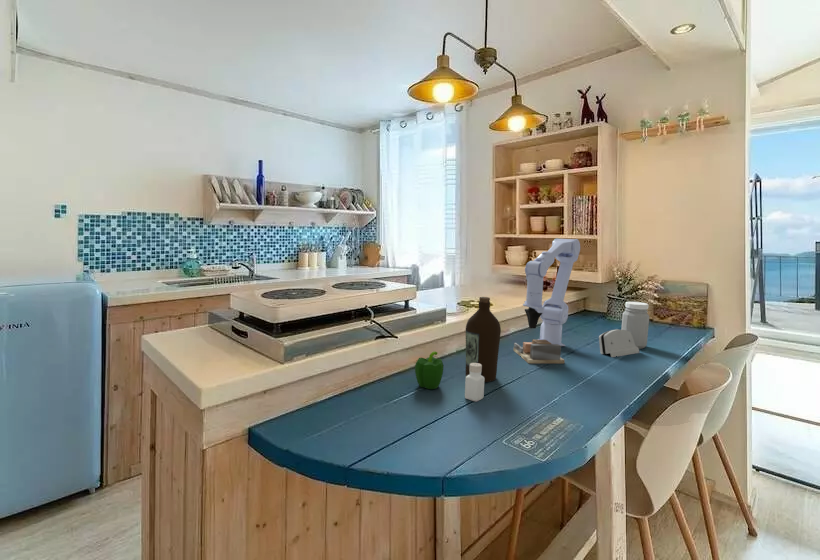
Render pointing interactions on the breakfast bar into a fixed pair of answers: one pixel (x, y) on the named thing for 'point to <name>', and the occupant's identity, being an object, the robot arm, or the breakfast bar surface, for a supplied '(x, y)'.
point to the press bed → (541, 353)
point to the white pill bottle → (474, 383)
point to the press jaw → (527, 347)
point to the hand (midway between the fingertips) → (532, 328)
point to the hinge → (617, 343)
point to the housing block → (540, 342)
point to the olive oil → (483, 340)
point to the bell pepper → (429, 371)
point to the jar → (636, 322)
